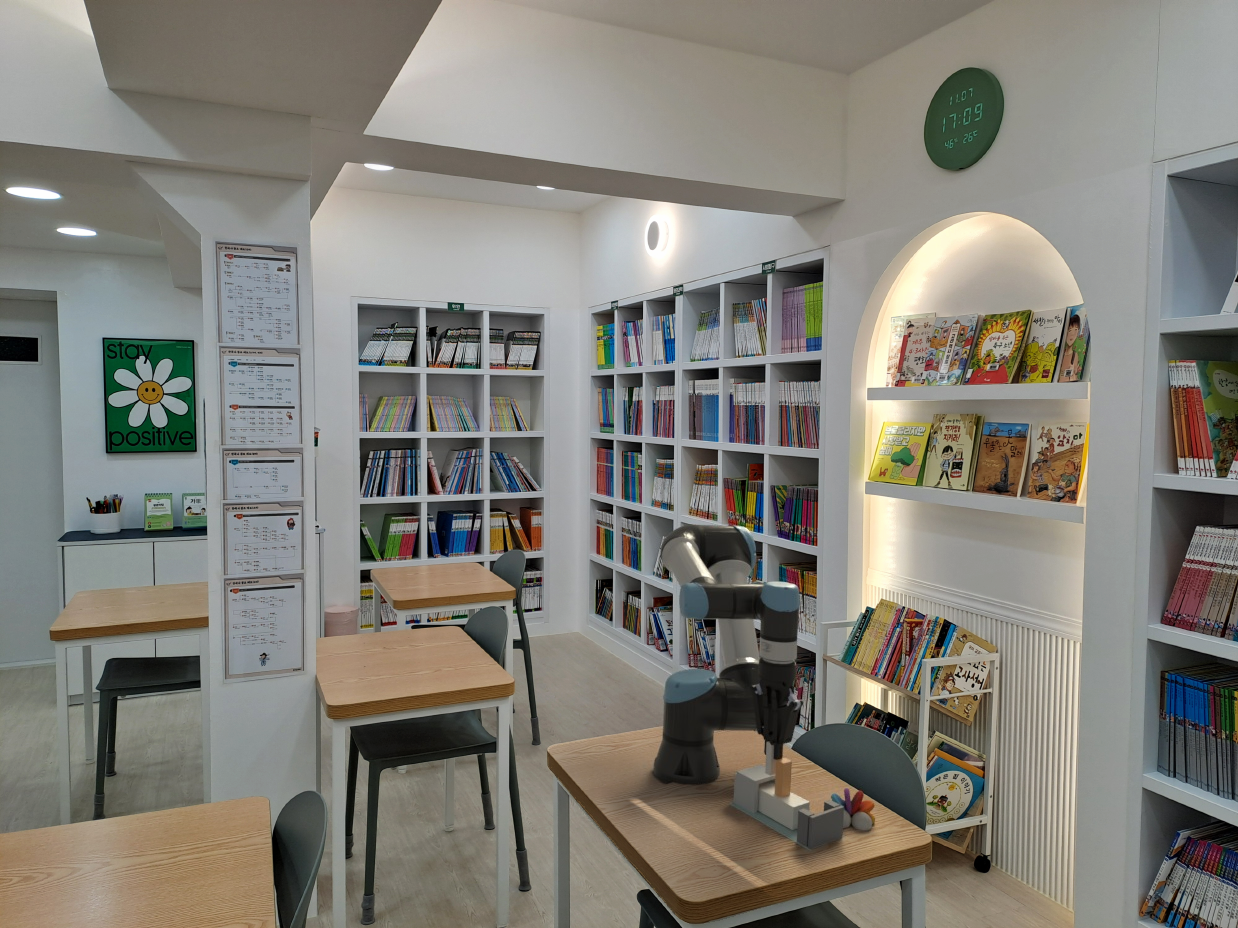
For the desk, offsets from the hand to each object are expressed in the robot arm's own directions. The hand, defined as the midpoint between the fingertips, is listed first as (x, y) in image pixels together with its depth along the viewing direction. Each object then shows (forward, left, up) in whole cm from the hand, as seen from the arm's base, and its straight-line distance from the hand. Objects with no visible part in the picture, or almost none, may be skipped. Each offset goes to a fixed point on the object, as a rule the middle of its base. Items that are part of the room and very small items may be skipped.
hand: (772, 772), depth 169 cm
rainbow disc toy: (+10, +12, -10) cm, 19 cm away
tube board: (+4, 0, -9) cm, 10 cm away
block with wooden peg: (+2, 0, -8) cm, 9 cm away
